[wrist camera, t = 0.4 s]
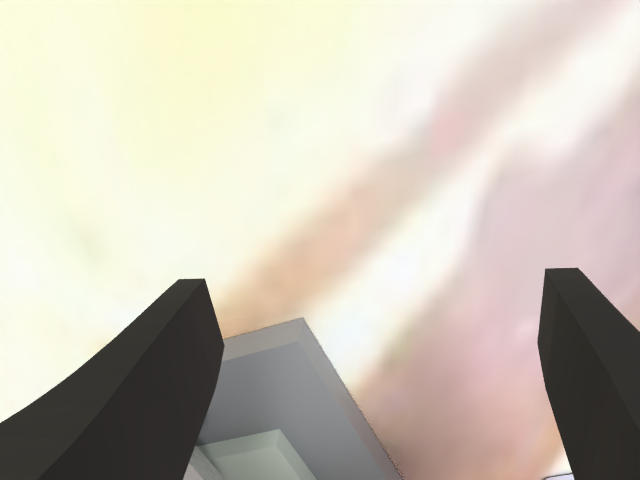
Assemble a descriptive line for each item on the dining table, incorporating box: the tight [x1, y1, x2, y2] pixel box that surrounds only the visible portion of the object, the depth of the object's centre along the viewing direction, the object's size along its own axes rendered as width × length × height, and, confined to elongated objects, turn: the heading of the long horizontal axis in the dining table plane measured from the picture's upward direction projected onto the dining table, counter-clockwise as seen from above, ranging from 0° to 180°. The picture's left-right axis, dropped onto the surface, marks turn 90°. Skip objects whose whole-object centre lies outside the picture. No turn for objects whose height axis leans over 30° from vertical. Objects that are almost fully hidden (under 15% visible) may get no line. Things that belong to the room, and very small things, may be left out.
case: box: [196, 318, 403, 480], centre depth 31 cm, size 16×14×2 cm
